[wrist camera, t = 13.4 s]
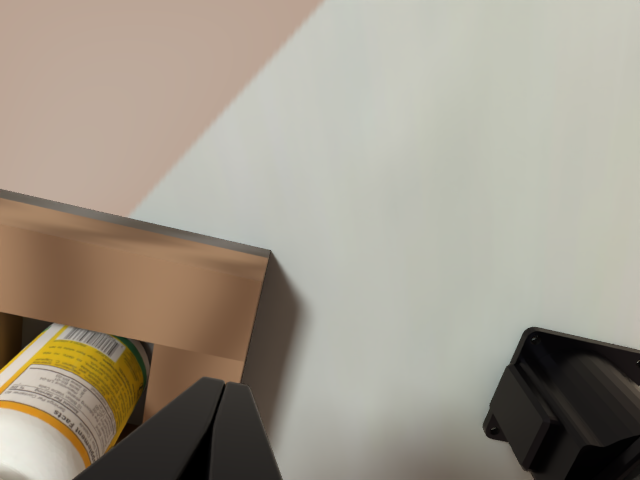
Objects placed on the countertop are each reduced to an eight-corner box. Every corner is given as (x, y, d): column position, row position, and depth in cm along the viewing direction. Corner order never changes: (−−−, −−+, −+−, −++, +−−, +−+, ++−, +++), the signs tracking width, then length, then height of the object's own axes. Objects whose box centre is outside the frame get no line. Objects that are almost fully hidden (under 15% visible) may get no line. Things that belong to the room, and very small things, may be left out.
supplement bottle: (126, 298, 21) (-21, 467, 12) (169, 394, 23) (70, 606, 13) (16, 326, 21) (-207, 510, 12) (67, 418, 23) (-96, 639, 14)
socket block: (270, 250, 21) (262, 281, 18) (218, 481, 26) (204, 540, 22) (-47, 178, 20) (-119, 197, 17) (-44, 433, 24) (-100, 488, 21)
